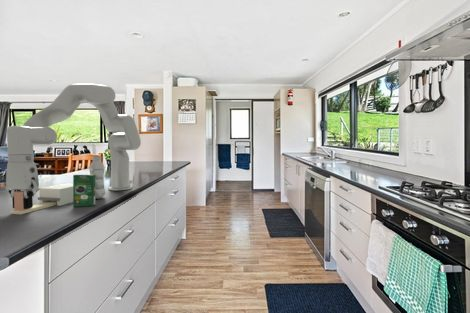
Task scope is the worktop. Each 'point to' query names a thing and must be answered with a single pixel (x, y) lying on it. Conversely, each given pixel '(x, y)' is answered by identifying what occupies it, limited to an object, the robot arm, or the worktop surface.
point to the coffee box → (83, 190)
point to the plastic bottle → (98, 176)
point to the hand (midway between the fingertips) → (22, 207)
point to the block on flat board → (20, 208)
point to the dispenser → (57, 194)
